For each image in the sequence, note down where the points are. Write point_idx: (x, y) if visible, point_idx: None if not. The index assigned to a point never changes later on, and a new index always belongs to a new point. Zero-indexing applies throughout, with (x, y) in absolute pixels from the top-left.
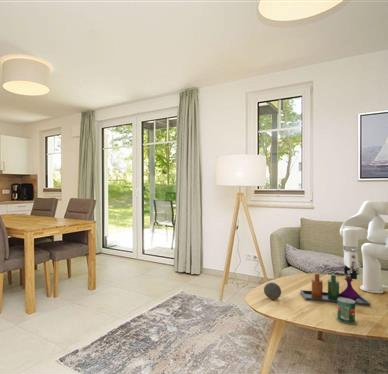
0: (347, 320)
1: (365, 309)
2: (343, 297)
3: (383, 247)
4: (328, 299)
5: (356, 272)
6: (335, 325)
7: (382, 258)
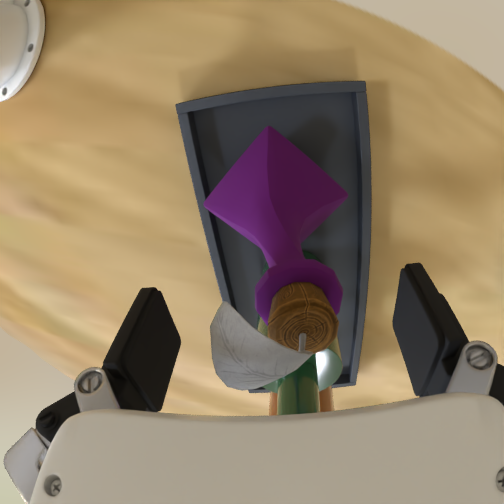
0: None
1: (410, 127)
2: None
3: None
4: (360, 315)
5: (487, 353)
6: None
7: None
